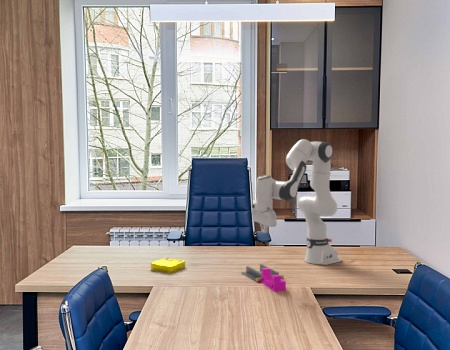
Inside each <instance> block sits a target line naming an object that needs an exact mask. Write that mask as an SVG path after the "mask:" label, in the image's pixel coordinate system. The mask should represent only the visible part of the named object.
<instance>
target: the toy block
mask: <svg viewBox="0 0 450 350" xmlns="http://www.w3.org/2000/svg"><path fill="white" fill-rule="evenodd" d="M270 269H271V268H270V267H268V268H262V272H261V273H262V282H261V284H263V285H264V286H266V288H268V287H269V289H270V290H271V289H272V290H271V291H272V292H274V291H275V292H281V290H283V291H286V289H287V288H286V287H287V283H286V282H287V281H286V280H284V279H281V276H280V275H281V274H279V275H272V276H271V273H270Z"/></svg>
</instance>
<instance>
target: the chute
mask: <svg viewBox="0 0 450 350" xmlns="http://www.w3.org/2000/svg"><path fill="white" fill-rule="evenodd" d="M262 268H269V266H266V265H264V264H262V263H260V264H259V271H258V270H256V269H254V268H252V266H249V265H248V266H246V268H245V270H246V271H242V272H240V273H241V275H244V276H245V277H247V278H249V279H251V280H253V281H254V282H255V283H262ZM270 273H271V276H272V275H280V276H281V279H283V280H284V275H283V274H279V272H278V271H277V270H274V269H272V268H270Z"/></svg>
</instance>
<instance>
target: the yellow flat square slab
mask: <svg viewBox="0 0 450 350" xmlns="http://www.w3.org/2000/svg"><path fill="white" fill-rule="evenodd" d="M185 268H186V261H185V259H178V258H171V257H163V258H160V259H158V260H155V261H151V262H150V271H154V272H159V273H164V274H174V273H176V272H178V271H180V270H183V269H185Z"/></svg>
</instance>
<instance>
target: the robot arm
mask: <svg viewBox="0 0 450 350" xmlns="http://www.w3.org/2000/svg"><path fill="white" fill-rule="evenodd" d="M333 152H334V150H333V147H332V145H331V143H330V142H328V141H327V142H325V141H314V140H313V141H310V140H308V139H305V138H303V139H300V140H298V141H297V142H296V143H294V145H293V146H292V147H291V148H290V150H289V152H288V153H287V154H286V157H285V162H286V165H287V166H288V168H289V169H291V170H292V171H293V172H292V175H291V176H290V179H289V180H287V181H282V180H281V181H280V180H276V179H274V178H273V177H272V176H271V175H269V174H268V175H260V176H258V177H257V178H256V182H255V195H256V196H255V197H256V199H255V202H253V203H252V204H251V218H252V221H253V222H254V223H258V224H259V227H260V229H261V230H260V231H261V233H263V234H267V233H268V228H273V227H277V223H278V222H277V213H276V212H275V209H273V208H274V207H273V204H274V203H273V202H274V201H273V199H275V200H280V201H281V200H282V201H285V202H291V201H293V200H294V199H295V198H296V197H297V194H298V190H299V188H300V185H301V183H302V181H303V179H304V176H305V173H306V171H307V162H308V161H312V165H311V173H310V181H309V185H310V188H311V189H312V190H314V192H315V196H314V195H305V196H301V197H300V198H299V199H298V202H297V207H298V210H299V211H300V212H301V213H302V214H303V217H304V219H305V223H306V226H307V227H306V228H307V231H306V232H307V237H306V251H305V252H306V253H305V257H304V262H306V263H307V264H314V265H322V266H327V265H331V264H335V263H339V262H342V260H343V259H342V258H341V257H339V254H338V251H337V249H336V248H334V246H332V245H330V243H332V242H333V239H332V238H327V225H326V223H325V222H324V221H323V220H322V218H321V216H322V217H333V216H335V214H336V213H337V212H338V203H337V201H336V200H335V199H334V198H333V196H332V194H331V189H330V180H331V179H330V177H331V158H332V156H333V155H334V154H333Z"/></svg>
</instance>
